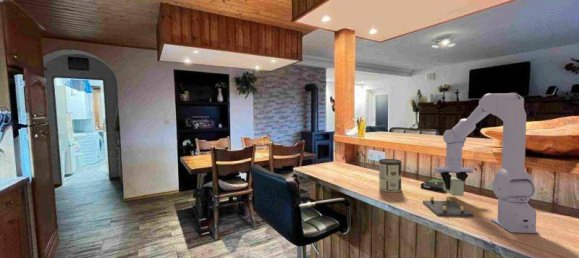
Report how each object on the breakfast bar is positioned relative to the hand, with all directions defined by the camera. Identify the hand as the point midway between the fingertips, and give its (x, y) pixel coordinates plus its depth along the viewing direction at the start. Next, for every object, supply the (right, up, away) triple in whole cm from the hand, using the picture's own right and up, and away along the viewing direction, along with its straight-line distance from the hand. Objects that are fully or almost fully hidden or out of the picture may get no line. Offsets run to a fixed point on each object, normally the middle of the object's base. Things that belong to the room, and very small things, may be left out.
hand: (453, 189), depth 109 cm
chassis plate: (-10, -5, -12) cm, 16 cm away
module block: (0, -2, 0) cm, 2 cm away
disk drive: (+3, -4, +16) cm, 17 cm away
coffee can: (-21, -4, +15) cm, 26 cm away
